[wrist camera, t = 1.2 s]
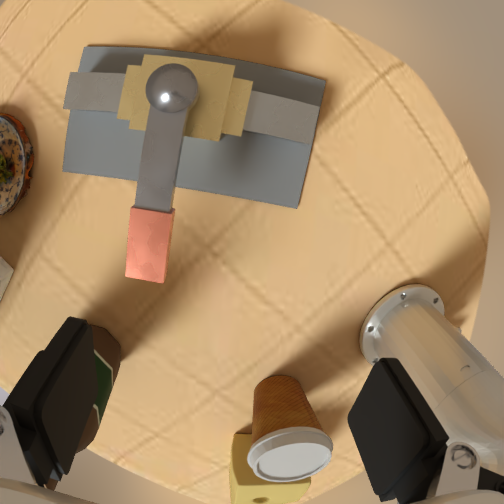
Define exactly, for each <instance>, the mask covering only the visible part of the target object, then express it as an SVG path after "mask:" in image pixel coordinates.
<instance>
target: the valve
mask: <svg viewBox="0 0 504 504" xmlns="http://www.w3.org/2000/svg"><path fill="white" fill-rule="evenodd" d="M170 63H177V64H181V65H184V66H186V67H187V68H189V69H190V70H191V71H192V72H193V74H194V75H195V77H196V79H197V81H198V83H199V87H200V95H199V99H198V101H197V103H196V104H195V105H194V107H193V108H192V109H190V110H189V114H188V119H187V124H186V129H185V134H184V136H187V137H194V138H200V139H206V140H212V141H218V142H219V141H220V138H221V133H223V134H229V135H234V136H241V135H242V131H247V132H252V133H257V134H262V135H267V136H271V137H276V138H280V139H285V140H289V141H293V142H298V143H302V144H309V145H311V144H312V139H313V135H314V130H315V126H316V121H317V117H318V112H319V108H320V107H318V106H315V105H311V104H307V103H303V102H300V101H296V100H292V99H288V98H284V97H279V96H275V95H271V94H266V93H262V92H257V91H252V90H251V89H252V84H253V81H249V80H244V79H239V78H233V77H234V71H235V66H234V65H229V64H223V63H217V62H210V61H203V60H196V59H188V58H180V57H170V56H159V55H147V54H144V58H143V62H142V66H137V65H128V67H127V71H126V74H122V73H97V72H70V76H69V80H68V85H67V90H66V95H65V101H64V106H63V109H70V110H81V111H98V112H112V113H118V114H117V119H123V120H130V123H129V129H134V130H143V131H146V125H147V120H148V114H149V109H150V103H149V101H148V99H147V97H146V91H145V90H146V83H147V80H148V78H149V77H150V75H151V74H152V73H153V72H154V71H155V70H156V69H157V68H159V67H160V66H163V65H165V64H170Z"/></svg>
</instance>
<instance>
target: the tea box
mask: <svg viewBox="0 0 504 504" xmlns="http://www.w3.org/2000/svg"><path fill="white" fill-rule="evenodd" d="M13 272H14V269H13V268H12V267H11V266H10V265H9V264H8V263H7V262H6V261H5V260H4V259H3V258H2V257H1V256H0V301H1V299H2V296H3V294H4V291H5V289H6V287H7V285H8V283H9V280H10V278H11V276H12V274H13Z"/></svg>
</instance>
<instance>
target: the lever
mask: <svg viewBox="0 0 504 504" xmlns="http://www.w3.org/2000/svg"><path fill="white" fill-rule="evenodd" d="M145 91H146V97H147V99H148V101H149V103H150V109H149V114H148V120H147V125H146V131H145V136H144V142H143V148H142V155H141V161H140V168H139V175H138V182H137V190H136V198H135V205H134V206H132V207H131V211H130V221H129V232H128V245H127V259H126V277H131V278H136V279H141V280H147V281H153V282H158V283H164V280H165V278H166V275H167V269H168V260H169V252H170V244H171V236H172V228H173V221H174V214H175V209H174V208H172V206H173V199H174V192H175V186H176V180H177V174H178V168H179V162H180V156H181V151H182V145H183V140H184V134H185V129H186V124H187V119H188V114H189V110H190V109H192V108H193V107H194V105H195V104H196V103H197V101H198V99H199V95H200V87H199V83H198V81H197V79H196V77H195V75H194V74H193V72H192V71H191V70H190V69H189V68H187V67H186V66H184V65H181V64H177V63H170V64H165V65H163V66H160V67H159V68H157V69H156V70H155V71H154V72H153V73H152V74H151V75H150V77H149V78H148V80H147V83H146V90H145Z"/></svg>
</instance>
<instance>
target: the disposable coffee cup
mask: <svg viewBox="0 0 504 504" xmlns="http://www.w3.org/2000/svg"><path fill="white" fill-rule="evenodd" d="M332 450H333V443H332V440H331V439H330V437H329V436H327V435H326V434H325V433H324V432H323V430H322V428H321V426H320V424H319V422H318V420H317V418H316V416H315V414H314V412H313V410H312V408H311V407H310V404H309V402H308V400H307V398H306V396H305V394H304V392H303V390H302V388H301V386H300V383H299V382H298V381H297V380H296V379H294V378H292V377H290V376H284V375H278V376H272V377H270V378H267V379H265V380H263V381H262V382H260V383H259V384H258V385H257V387H256V388H255V390H254V404H253V422H252V440H251V448H250V451H249V453H248V457H247V461H248V464H249V466H250V467H251V468H252V469H253V471H254V473H255V474H256V476H258V477H260V478H261V479H264V480H267V481H273V482H290V481H296V480H300V479H304V478H307V477H309V476H311V475H314V474H316V473H317V472H319V471H321V470H322V469H323V468H324V467H326V466H327V464H328V463H329V462H330V459H331V452H332Z"/></svg>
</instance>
